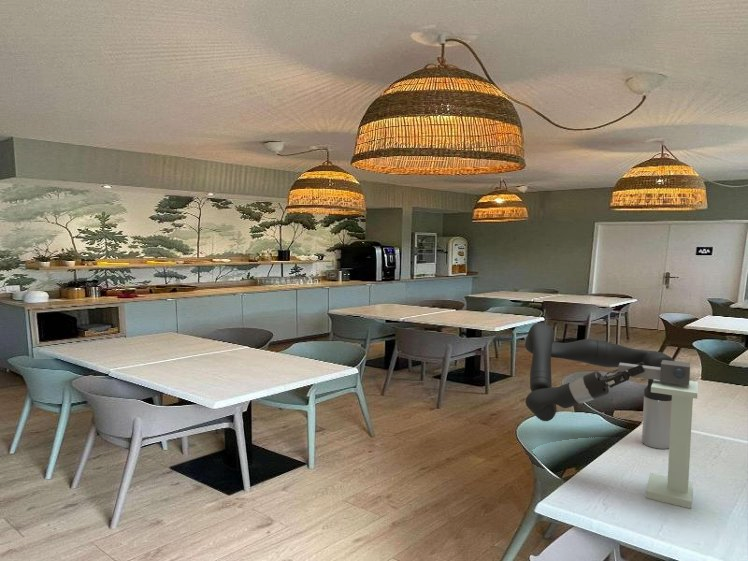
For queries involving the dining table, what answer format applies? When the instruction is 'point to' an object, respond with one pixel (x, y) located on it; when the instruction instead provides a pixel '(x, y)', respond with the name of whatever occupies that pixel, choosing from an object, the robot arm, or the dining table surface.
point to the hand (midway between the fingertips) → (643, 366)
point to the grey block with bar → (663, 371)
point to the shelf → (676, 446)
